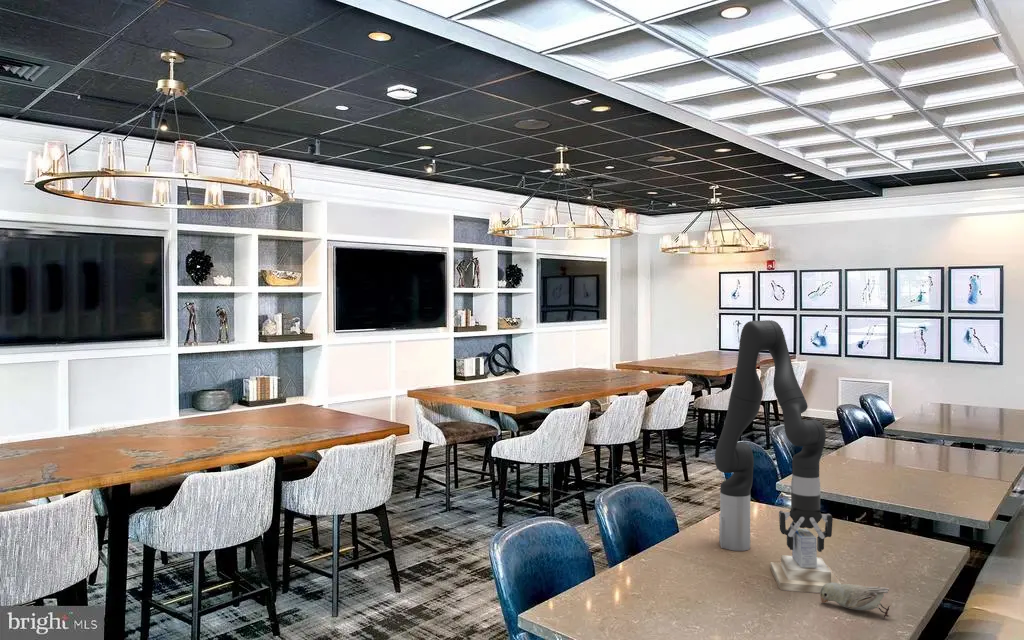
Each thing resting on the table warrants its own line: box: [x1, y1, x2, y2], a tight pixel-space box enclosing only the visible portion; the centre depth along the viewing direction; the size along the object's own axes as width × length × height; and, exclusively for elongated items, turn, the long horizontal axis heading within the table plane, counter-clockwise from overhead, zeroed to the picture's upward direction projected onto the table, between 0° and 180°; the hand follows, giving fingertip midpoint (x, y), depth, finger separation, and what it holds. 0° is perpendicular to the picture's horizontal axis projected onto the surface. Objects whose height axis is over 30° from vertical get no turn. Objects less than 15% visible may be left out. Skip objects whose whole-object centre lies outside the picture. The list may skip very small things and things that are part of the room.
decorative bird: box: [819, 582, 891, 620], centre depth 177 cm, size 5×16×8 cm, turn 56°
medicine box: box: [791, 528, 818, 568], centre depth 196 cm, size 8×4×9 cm, turn 174°
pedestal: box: [770, 555, 842, 594], centre depth 196 cm, size 16×16×5 cm
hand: (805, 549), depth 196 cm, fingers open, 7 cm apart
